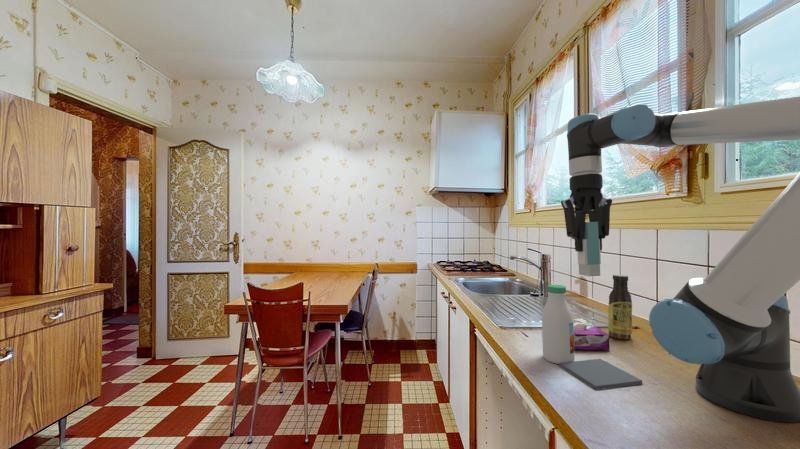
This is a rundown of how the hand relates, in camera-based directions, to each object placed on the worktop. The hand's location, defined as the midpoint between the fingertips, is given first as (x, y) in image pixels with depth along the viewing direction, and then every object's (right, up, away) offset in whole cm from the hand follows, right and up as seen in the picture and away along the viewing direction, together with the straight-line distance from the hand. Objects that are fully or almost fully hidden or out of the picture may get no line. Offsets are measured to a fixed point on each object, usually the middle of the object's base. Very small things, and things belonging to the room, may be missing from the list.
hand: (589, 263), depth 83 cm
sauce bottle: (+21, -26, +18) cm, 38 cm away
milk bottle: (-7, -27, +3) cm, 28 cm away
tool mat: (-2, -26, -6) cm, 27 cm away
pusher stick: (0, -3, 0) cm, 3 cm away
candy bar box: (+5, -24, +7) cm, 25 cm away
